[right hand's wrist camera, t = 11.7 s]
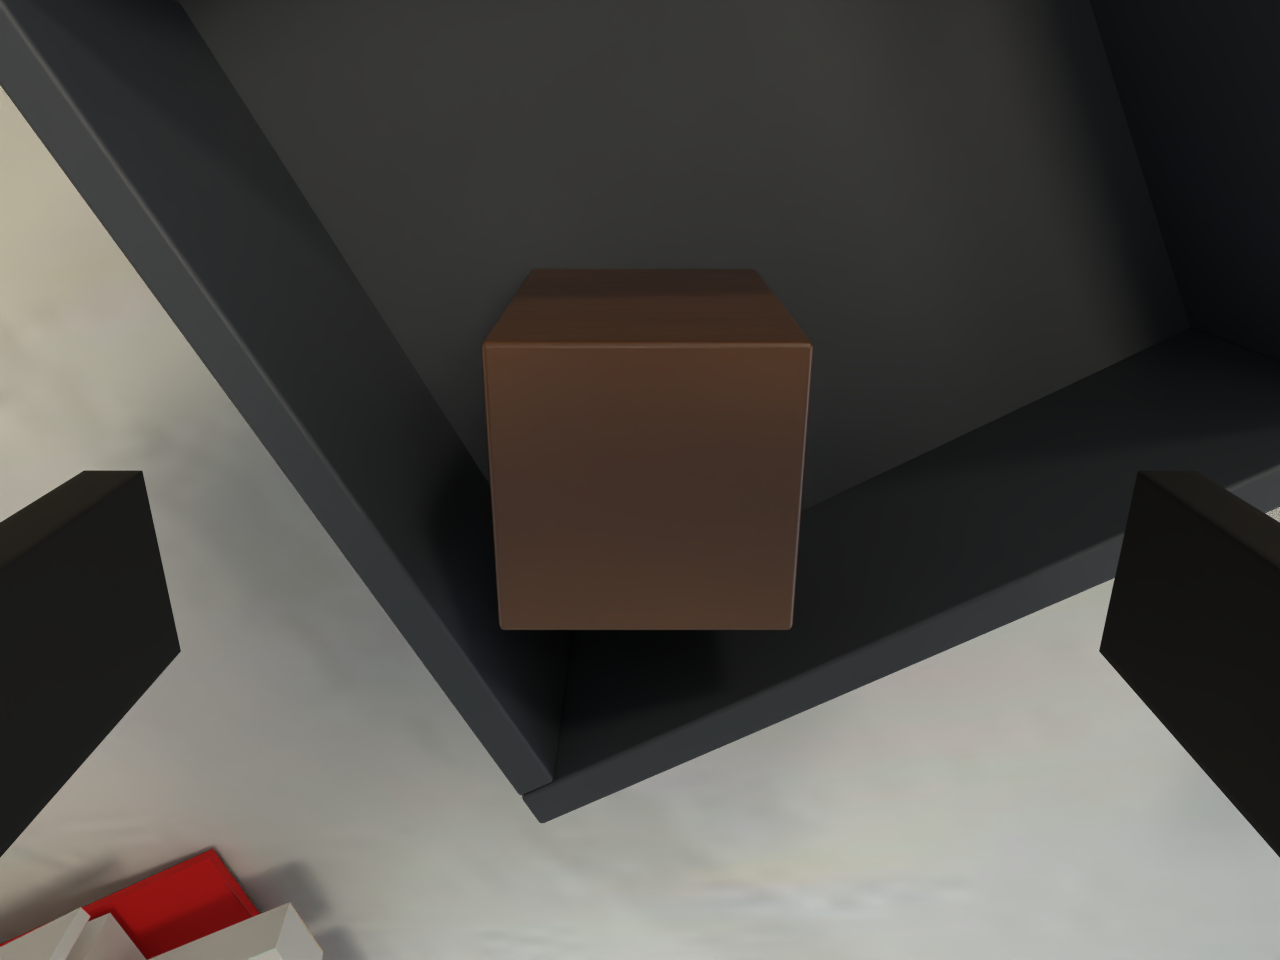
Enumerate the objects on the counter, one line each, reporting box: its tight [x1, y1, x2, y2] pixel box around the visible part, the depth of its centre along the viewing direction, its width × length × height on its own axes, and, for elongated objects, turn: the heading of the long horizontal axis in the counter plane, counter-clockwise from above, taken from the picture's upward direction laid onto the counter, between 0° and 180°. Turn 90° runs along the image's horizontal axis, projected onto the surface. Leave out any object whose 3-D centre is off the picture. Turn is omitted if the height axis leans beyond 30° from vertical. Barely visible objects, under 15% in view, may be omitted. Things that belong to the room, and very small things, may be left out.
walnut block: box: [481, 269, 814, 630], centre depth 18 cm, size 5×5×7 cm
